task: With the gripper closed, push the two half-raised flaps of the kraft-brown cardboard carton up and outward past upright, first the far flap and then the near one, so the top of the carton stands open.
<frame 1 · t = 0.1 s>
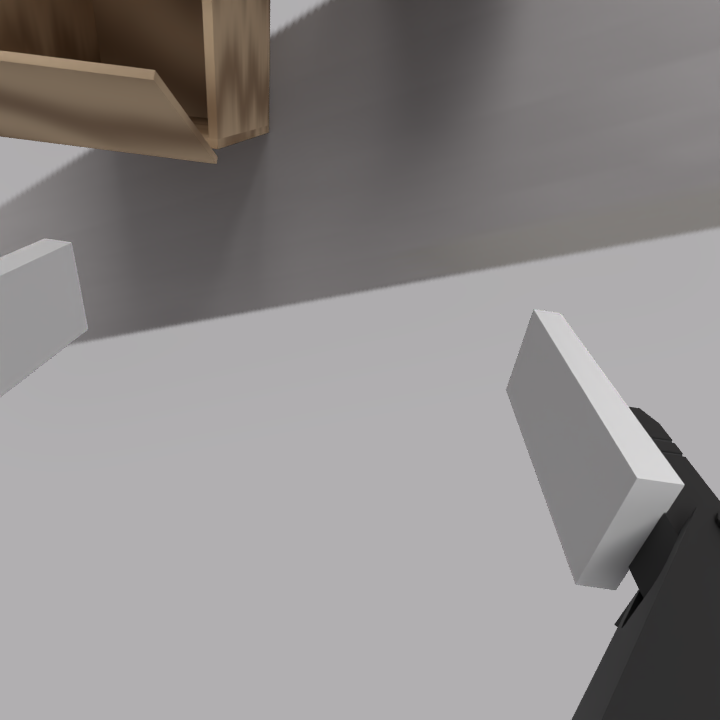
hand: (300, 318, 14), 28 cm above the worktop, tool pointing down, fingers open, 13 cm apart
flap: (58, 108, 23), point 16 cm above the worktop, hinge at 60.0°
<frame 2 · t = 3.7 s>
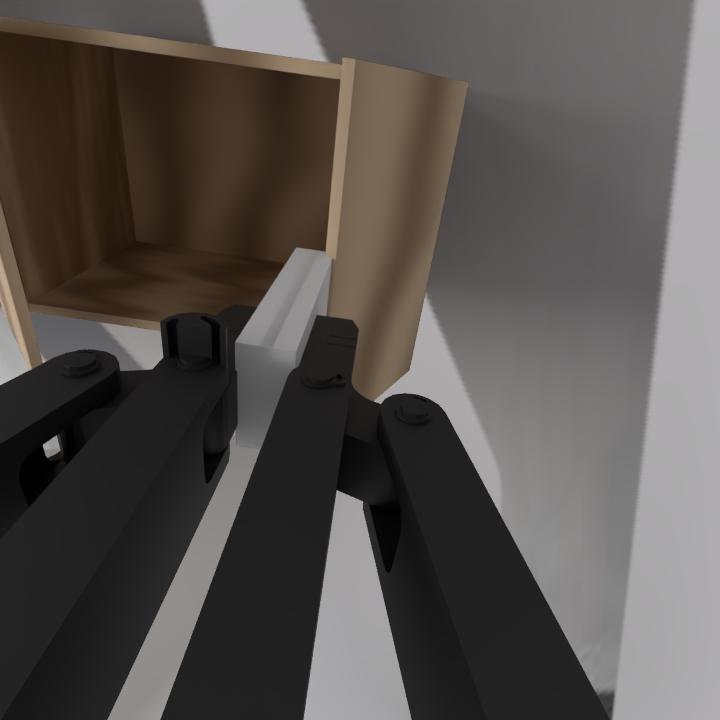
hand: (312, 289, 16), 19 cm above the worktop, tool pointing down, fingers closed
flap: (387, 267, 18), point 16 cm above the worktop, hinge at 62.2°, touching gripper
carton: (267, 172, 32), on the worktop
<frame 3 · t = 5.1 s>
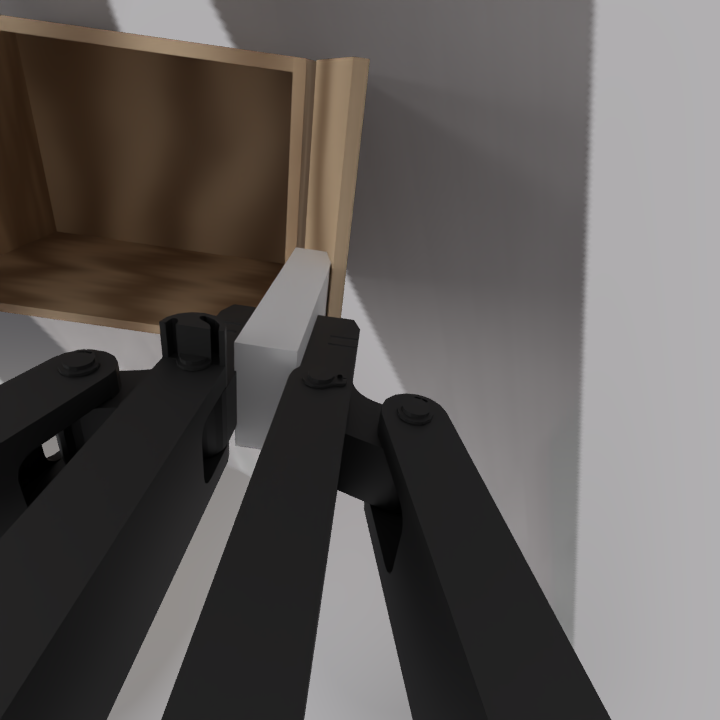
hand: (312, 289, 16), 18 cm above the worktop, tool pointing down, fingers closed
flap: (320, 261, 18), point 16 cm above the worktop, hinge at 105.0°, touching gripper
carton: (183, 160, 31), on the worktop
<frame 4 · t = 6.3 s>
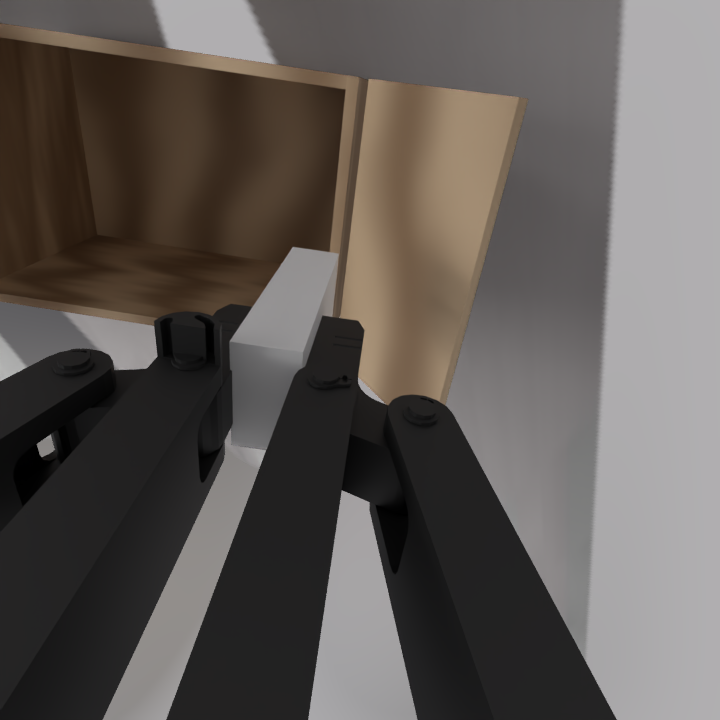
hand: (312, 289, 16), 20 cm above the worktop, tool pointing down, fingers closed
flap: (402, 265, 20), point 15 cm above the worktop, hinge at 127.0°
carton: (221, 168, 33), on the worktop
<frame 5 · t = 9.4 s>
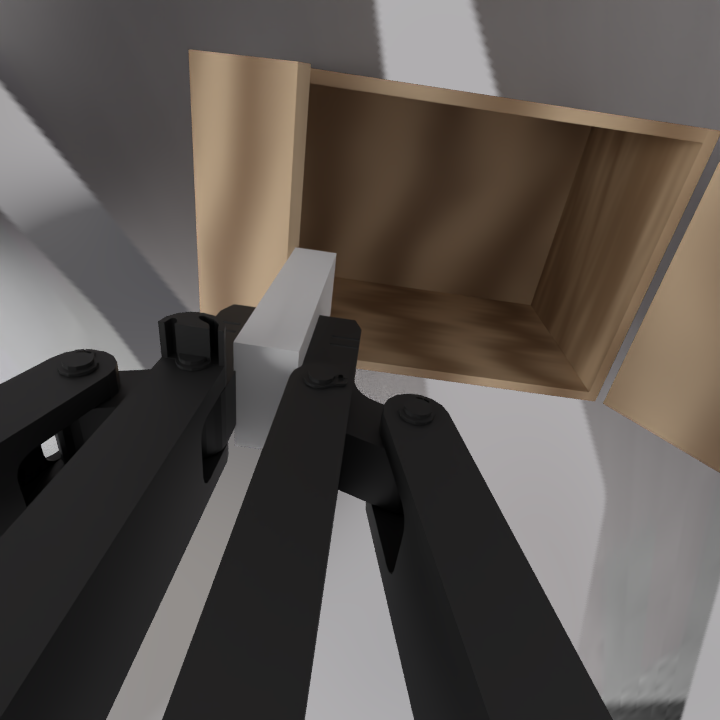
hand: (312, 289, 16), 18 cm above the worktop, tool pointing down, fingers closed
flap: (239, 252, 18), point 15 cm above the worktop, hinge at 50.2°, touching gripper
carton: (418, 201, 32), on the worktop
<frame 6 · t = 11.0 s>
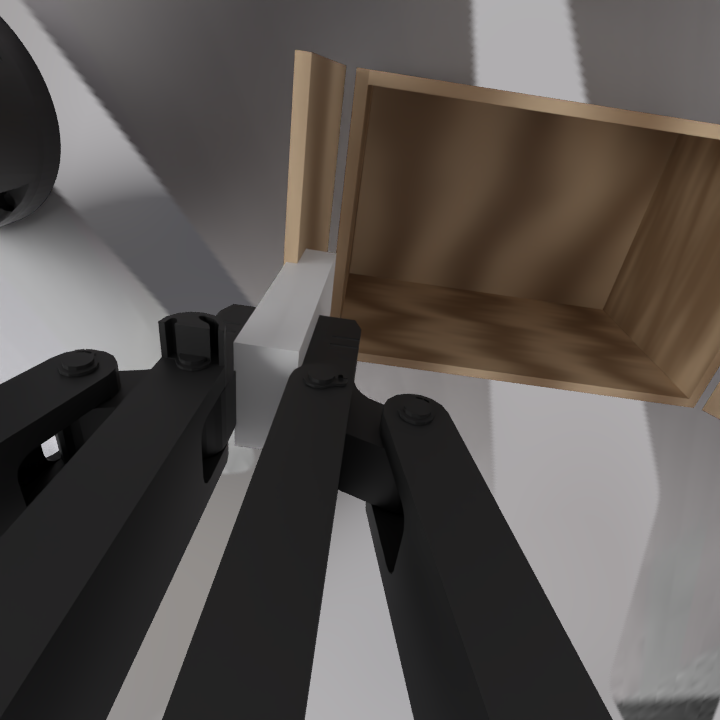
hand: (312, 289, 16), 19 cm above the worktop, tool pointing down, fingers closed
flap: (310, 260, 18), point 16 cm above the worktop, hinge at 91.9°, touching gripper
carton: (498, 207, 32), on the worktop
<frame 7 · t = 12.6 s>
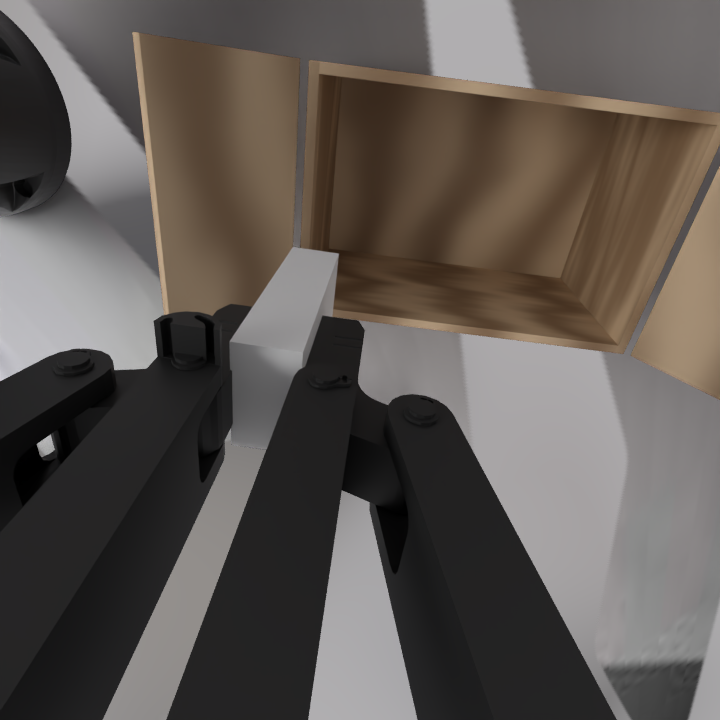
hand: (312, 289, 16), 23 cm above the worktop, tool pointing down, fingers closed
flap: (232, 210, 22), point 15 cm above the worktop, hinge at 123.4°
carton: (459, 185, 36), on the worktop
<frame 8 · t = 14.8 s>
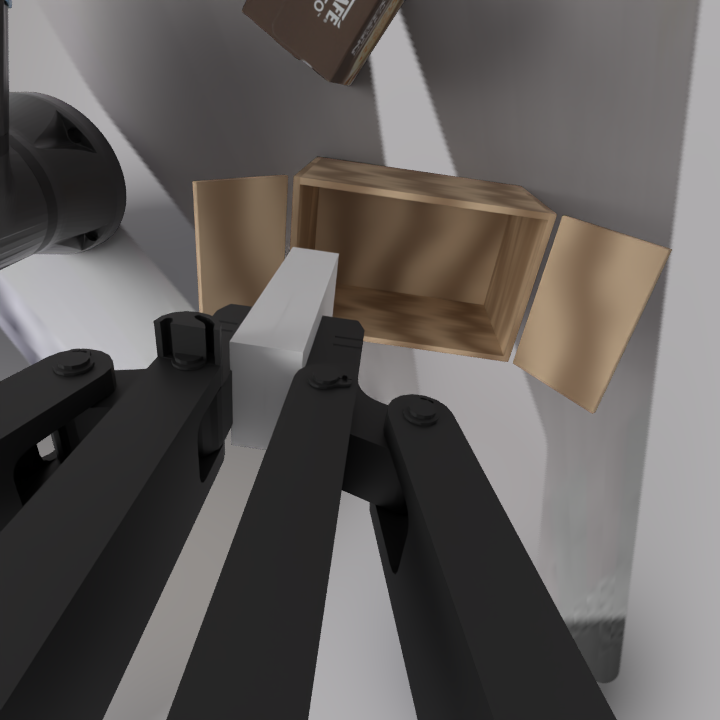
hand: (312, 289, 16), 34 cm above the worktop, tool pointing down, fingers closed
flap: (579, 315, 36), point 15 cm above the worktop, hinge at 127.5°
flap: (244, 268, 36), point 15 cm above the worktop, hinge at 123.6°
carton: (407, 237, 49), on the worktop
coffee box: (351, 14, 40), on the worktop
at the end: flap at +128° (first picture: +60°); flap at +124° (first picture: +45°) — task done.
